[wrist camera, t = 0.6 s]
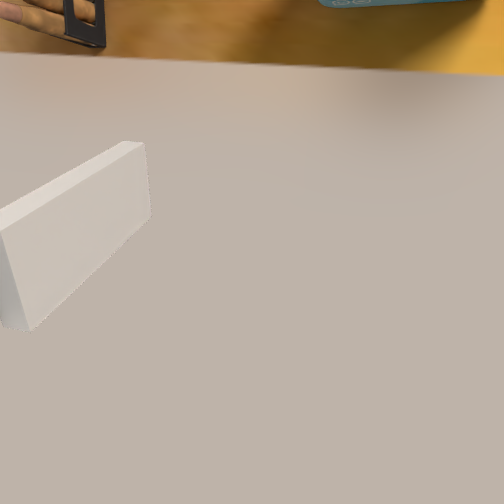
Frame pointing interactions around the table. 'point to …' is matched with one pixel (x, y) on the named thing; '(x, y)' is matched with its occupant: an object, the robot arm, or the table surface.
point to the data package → (373, 2)
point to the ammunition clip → (62, 19)
